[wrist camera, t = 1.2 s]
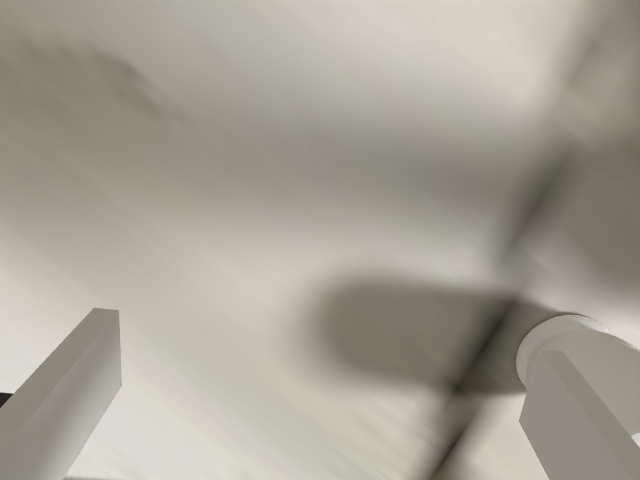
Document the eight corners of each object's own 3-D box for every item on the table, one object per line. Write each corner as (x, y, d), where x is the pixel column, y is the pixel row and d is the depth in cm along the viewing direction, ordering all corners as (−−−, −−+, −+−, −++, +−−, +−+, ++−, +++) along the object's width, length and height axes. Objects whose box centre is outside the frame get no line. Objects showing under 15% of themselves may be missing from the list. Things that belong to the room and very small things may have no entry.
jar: (476, 360, 44) (545, 502, 30) (569, 277, 42) (692, 390, 28) (558, 427, 47) (658, 588, 32) (652, 352, 44) (805, 492, 30)
